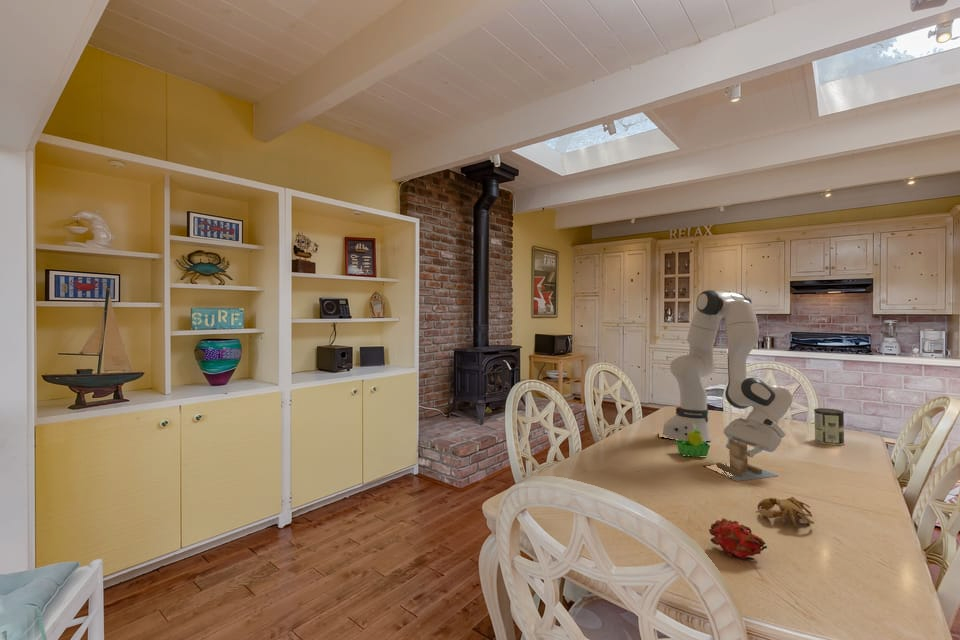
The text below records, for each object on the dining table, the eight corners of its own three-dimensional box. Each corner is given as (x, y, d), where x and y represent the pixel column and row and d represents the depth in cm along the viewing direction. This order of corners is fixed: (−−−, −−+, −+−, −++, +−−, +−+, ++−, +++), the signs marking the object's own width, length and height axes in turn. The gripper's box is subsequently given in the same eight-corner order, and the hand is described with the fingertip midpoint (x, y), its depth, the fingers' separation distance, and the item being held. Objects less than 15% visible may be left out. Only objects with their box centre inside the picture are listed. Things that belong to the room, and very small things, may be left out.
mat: (741, 461, 167) (741, 457, 167) (778, 476, 151) (778, 471, 151) (701, 465, 163) (701, 461, 163) (736, 481, 147) (736, 476, 147)
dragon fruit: (705, 550, 107) (762, 574, 100) (703, 543, 101) (763, 567, 94) (713, 516, 110) (768, 537, 103) (711, 507, 105) (770, 529, 97)
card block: (738, 467, 160) (738, 441, 159) (747, 471, 156) (747, 444, 156) (729, 468, 159) (729, 441, 159) (738, 472, 155) (738, 445, 155)
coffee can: (831, 438, 195) (831, 407, 195) (850, 445, 185) (850, 412, 185) (808, 439, 196) (808, 408, 196) (826, 445, 185) (826, 413, 185)
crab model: (757, 504, 130) (757, 486, 130) (810, 514, 123) (810, 494, 123) (757, 525, 117) (756, 504, 117) (816, 537, 110) (815, 515, 110)
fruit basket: (703, 452, 179) (702, 425, 179) (712, 459, 170) (712, 431, 170) (674, 452, 180) (674, 425, 180) (682, 459, 171) (682, 430, 171)
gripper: (732, 411, 169) (711, 438, 167) (779, 424, 149) (756, 454, 147) (741, 422, 170) (721, 449, 168) (790, 436, 150) (767, 466, 148)
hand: (738, 451), depth 157 cm, fingers open, 8 cm apart
